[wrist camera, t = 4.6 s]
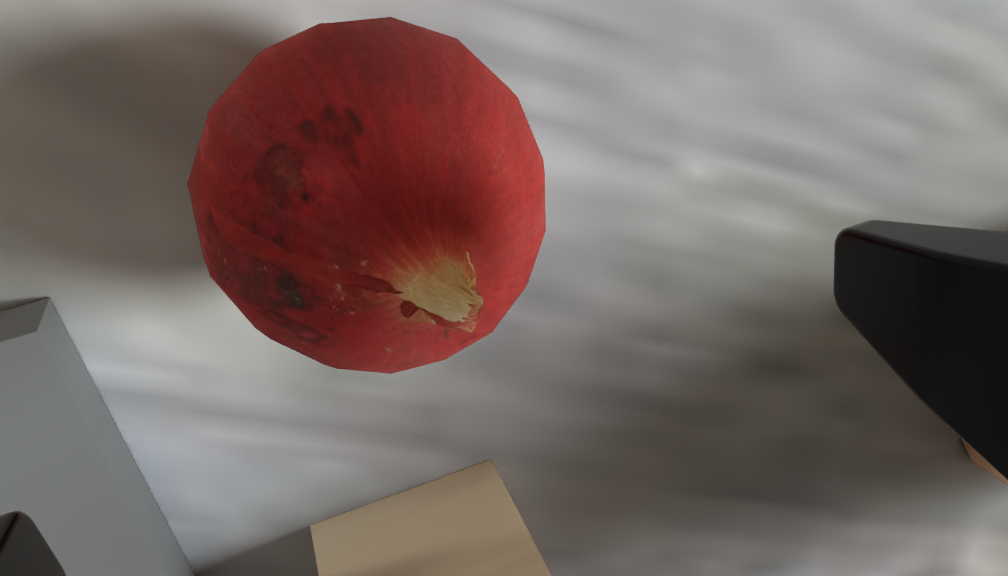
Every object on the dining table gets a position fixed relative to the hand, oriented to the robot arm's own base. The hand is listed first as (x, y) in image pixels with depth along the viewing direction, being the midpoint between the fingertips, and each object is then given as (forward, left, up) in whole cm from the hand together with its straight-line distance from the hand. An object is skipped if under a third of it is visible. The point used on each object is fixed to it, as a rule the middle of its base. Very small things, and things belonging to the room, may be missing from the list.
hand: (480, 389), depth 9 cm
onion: (0, 0, -10) cm, 10 cm away
